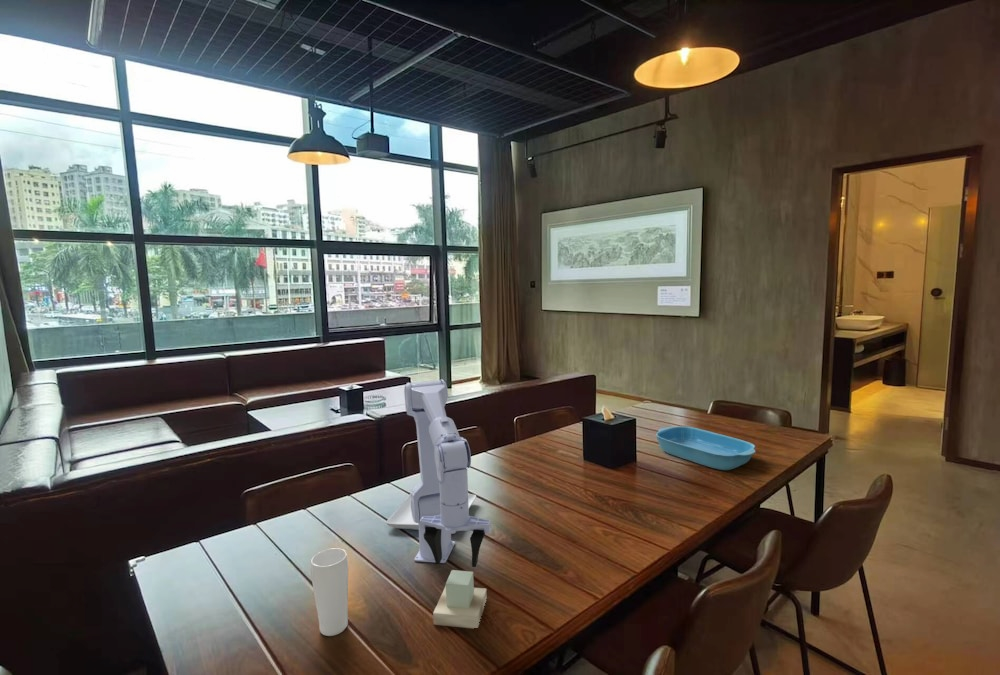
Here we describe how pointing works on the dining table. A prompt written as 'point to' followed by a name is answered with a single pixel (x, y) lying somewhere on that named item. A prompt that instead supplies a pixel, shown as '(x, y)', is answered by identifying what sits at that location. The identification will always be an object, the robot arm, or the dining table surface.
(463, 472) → the robot arm
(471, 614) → the birch base
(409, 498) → the salad plate
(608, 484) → the dining table surface
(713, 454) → the casserole dish
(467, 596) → the sage block
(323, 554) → the drinking glass
